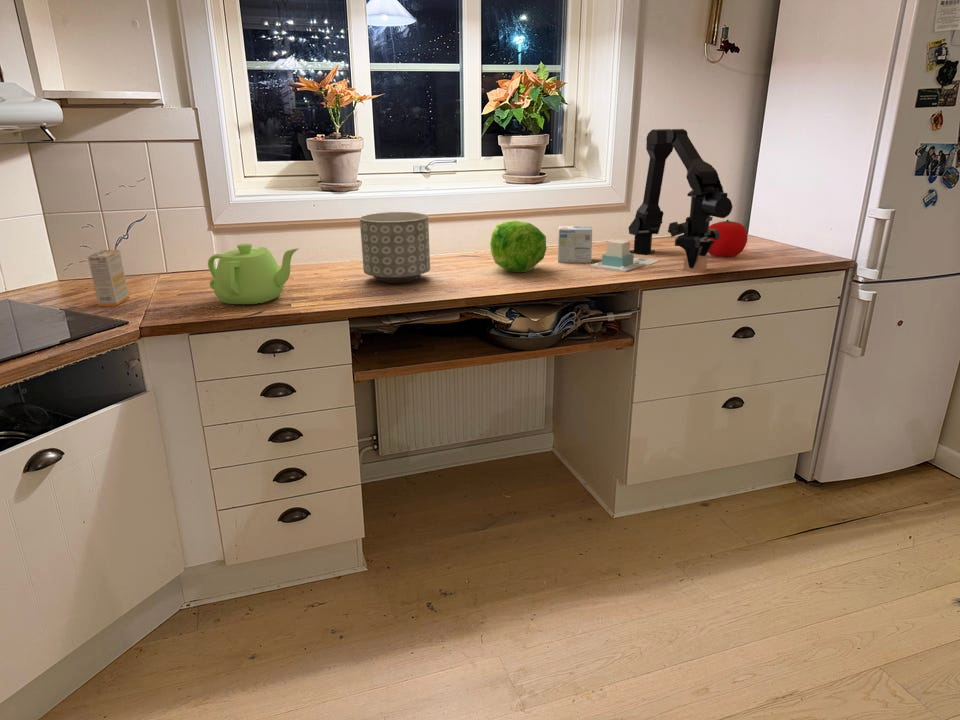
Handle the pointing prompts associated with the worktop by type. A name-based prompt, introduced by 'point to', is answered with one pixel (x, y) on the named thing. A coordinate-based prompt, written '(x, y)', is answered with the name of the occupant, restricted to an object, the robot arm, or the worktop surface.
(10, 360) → the worktop surface
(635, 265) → the build plate
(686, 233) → the robot arm
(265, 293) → the teapot
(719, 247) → the tomato
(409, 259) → the planter
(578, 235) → the light bulb box
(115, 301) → the supplement box
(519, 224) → the lettuce
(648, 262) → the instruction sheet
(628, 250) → the cream brick
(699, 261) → the rust brick
